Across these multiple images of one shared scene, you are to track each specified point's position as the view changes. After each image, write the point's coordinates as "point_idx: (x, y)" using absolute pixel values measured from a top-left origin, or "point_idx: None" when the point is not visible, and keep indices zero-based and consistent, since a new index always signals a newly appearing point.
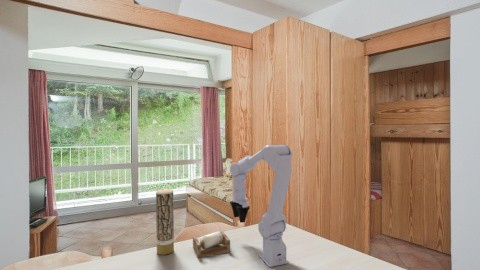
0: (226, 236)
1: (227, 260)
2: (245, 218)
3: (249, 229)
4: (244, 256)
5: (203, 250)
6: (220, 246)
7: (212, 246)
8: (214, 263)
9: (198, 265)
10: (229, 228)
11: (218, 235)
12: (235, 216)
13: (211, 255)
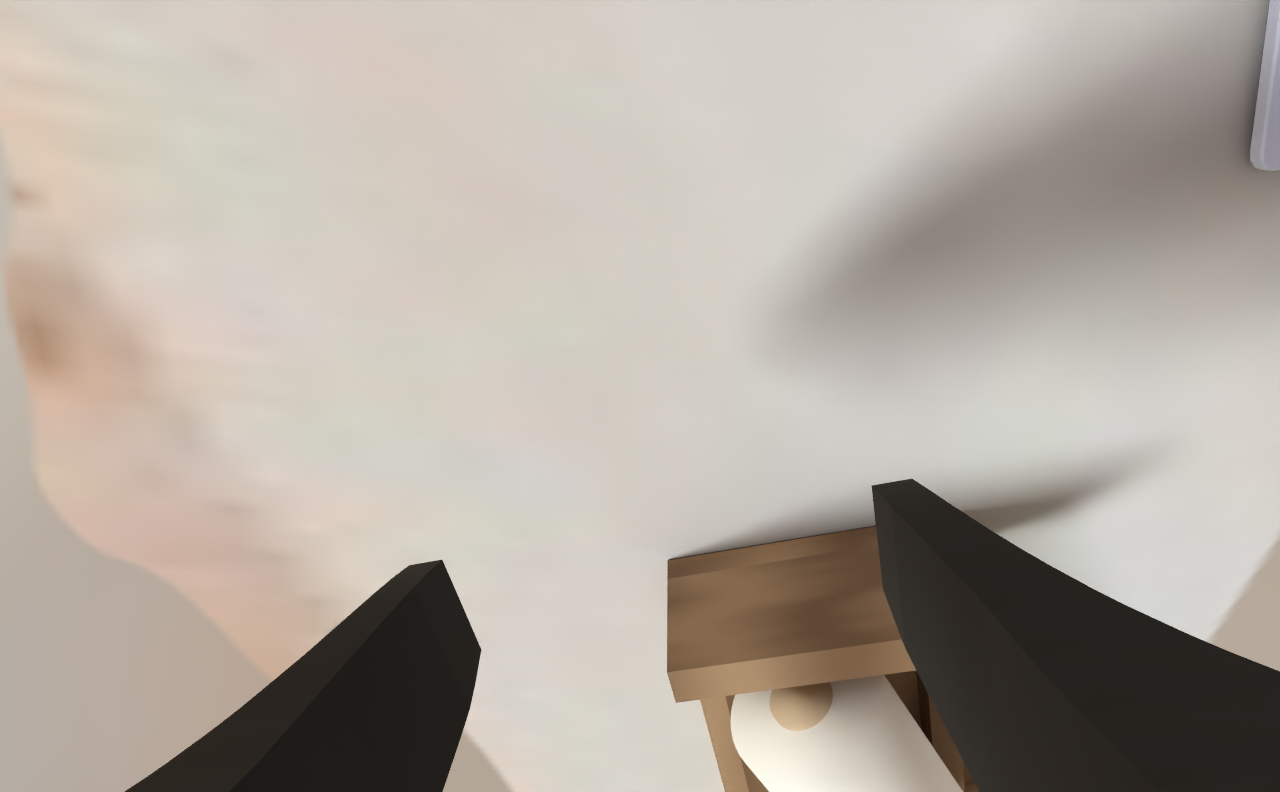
0: (880, 649)
1: (1146, 557)
2: (978, 528)
3: (156, 124)
4: (1141, 368)
5: (962, 789)
6: None
7: None
8: None
9: None
10: (160, 441)
11: (896, 765)
12: (468, 652)
13: None
